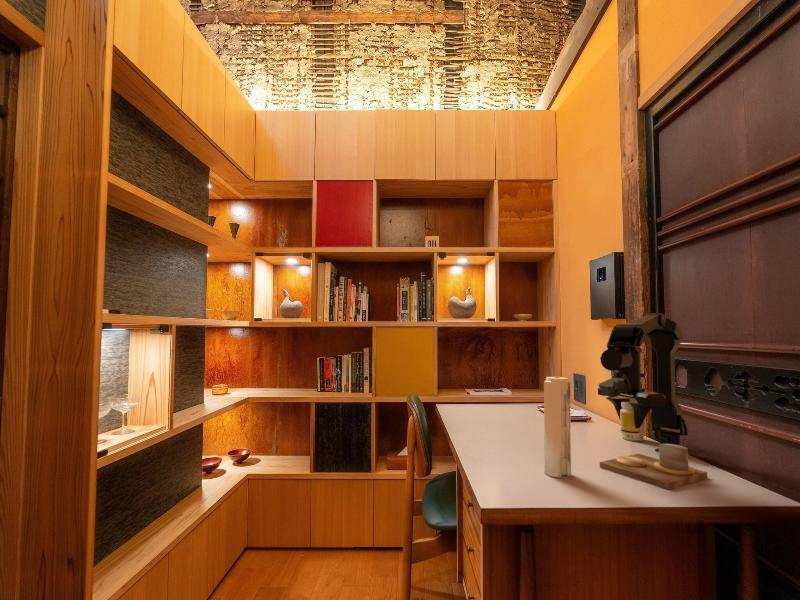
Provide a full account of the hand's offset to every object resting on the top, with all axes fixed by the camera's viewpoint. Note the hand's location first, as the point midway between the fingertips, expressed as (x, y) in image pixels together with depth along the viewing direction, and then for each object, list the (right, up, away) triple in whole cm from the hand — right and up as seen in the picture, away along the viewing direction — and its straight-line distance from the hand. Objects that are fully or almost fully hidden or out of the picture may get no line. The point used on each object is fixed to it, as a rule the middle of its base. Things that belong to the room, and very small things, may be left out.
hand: (630, 426), depth 116 cm
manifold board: (+4, -11, -4) cm, 12 cm away
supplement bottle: (0, -2, 0) cm, 2 cm away
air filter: (-22, -11, -6) cm, 26 cm away
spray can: (+18, -14, +31) cm, 39 cm away
